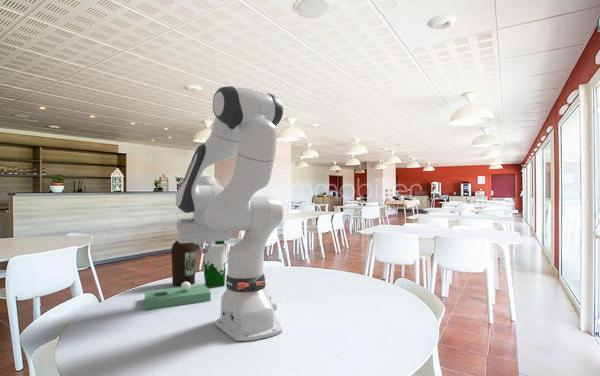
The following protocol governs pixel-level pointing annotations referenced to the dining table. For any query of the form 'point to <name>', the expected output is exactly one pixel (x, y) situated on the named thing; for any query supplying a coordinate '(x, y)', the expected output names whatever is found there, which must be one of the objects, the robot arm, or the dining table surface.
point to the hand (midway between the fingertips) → (204, 253)
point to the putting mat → (176, 296)
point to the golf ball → (185, 286)
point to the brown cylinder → (183, 263)
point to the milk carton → (215, 264)
